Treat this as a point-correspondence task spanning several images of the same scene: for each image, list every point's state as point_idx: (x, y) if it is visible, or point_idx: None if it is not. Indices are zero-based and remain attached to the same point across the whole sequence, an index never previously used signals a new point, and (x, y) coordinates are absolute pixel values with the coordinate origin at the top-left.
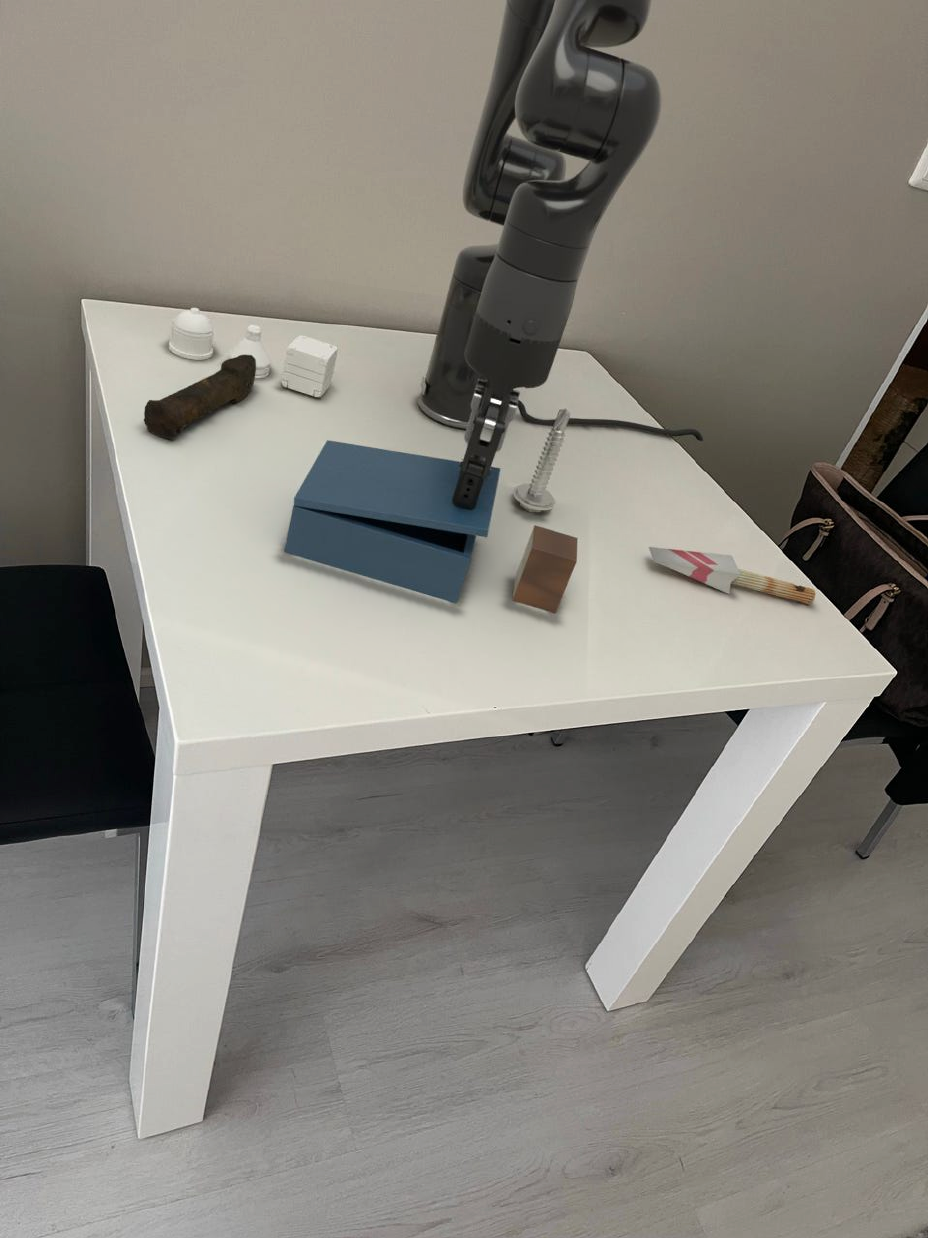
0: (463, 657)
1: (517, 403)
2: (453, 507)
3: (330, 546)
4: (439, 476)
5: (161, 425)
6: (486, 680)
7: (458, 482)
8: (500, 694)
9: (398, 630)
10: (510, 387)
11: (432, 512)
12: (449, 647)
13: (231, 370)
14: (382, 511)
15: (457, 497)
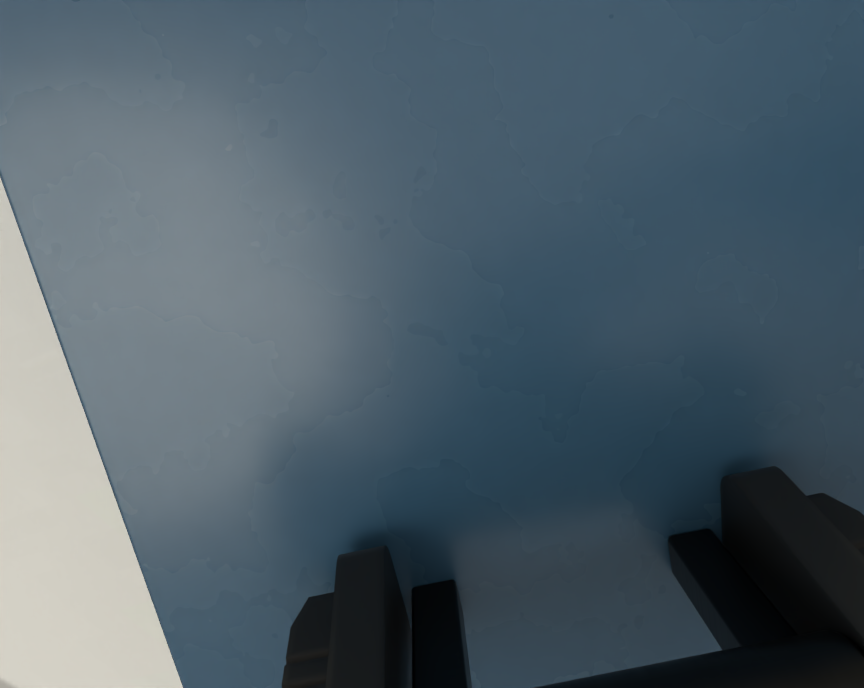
0: (78, 537)
1: None
2: (336, 550)
3: None
4: (689, 343)
5: None
6: (39, 611)
7: (331, 673)
8: (17, 652)
9: (26, 344)
10: None
11: (206, 468)
12: (87, 494)
13: None
14: (19, 190)
15: (314, 618)
